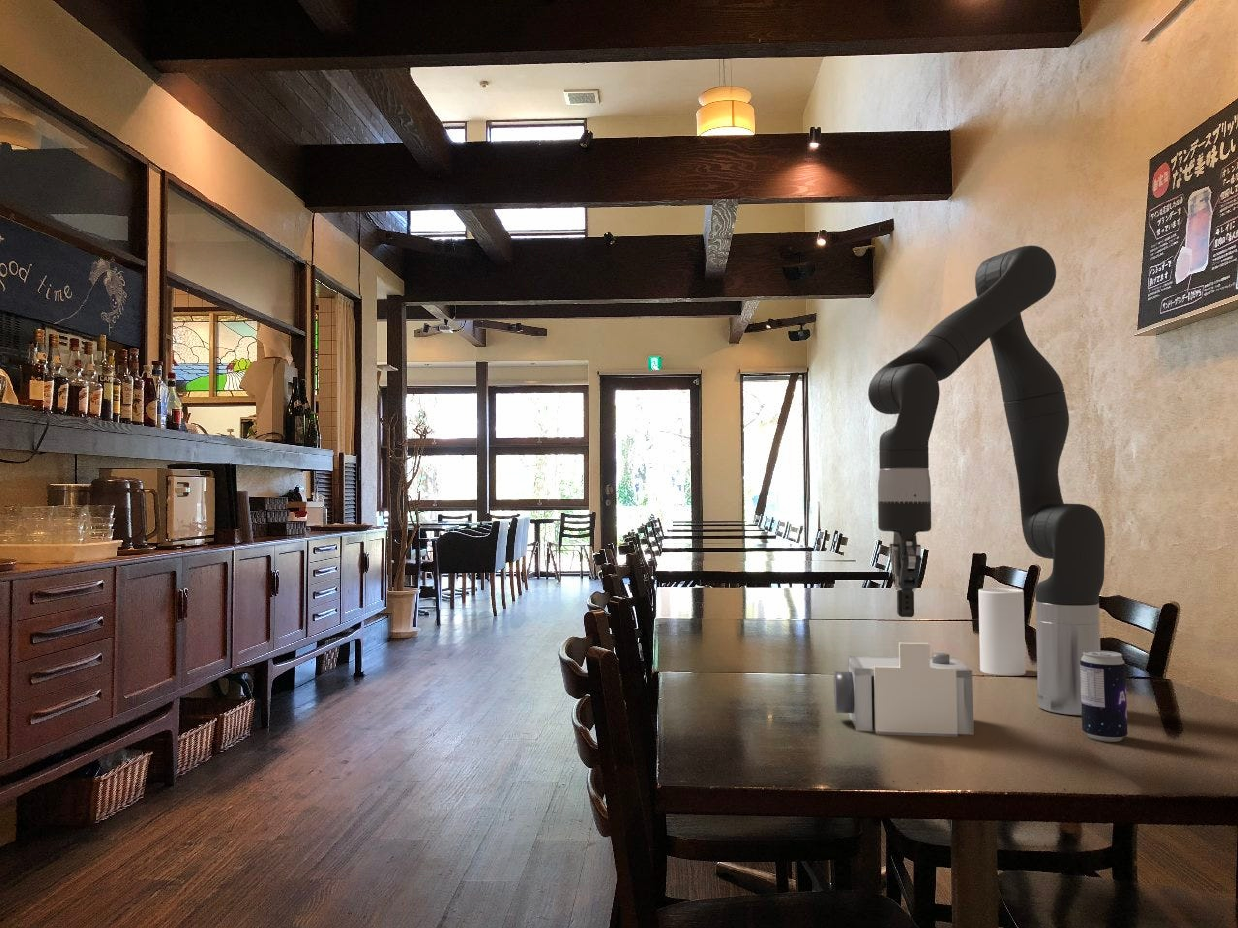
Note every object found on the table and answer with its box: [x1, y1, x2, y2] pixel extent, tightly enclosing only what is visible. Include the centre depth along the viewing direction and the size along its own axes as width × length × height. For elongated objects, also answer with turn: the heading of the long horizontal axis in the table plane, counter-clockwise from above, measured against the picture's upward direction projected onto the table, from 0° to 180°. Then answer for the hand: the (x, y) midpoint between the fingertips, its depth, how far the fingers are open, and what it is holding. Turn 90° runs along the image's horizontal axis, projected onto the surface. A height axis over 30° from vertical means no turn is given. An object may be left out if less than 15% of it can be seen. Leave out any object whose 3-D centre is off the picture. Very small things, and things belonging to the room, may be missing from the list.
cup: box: [977, 587, 1027, 677], centre depth 173 cm, size 8×8×16 cm
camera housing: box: [833, 652, 974, 735], centre depth 130 cm, size 18×10×11 cm, turn 81°
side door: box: [874, 641, 959, 738], centre depth 124 cm, size 11×1×13 cm, turn 81°
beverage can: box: [1080, 649, 1129, 743], centre depth 125 cm, size 6×6×12 cm
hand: (905, 616), depth 130 cm, fingers closed
